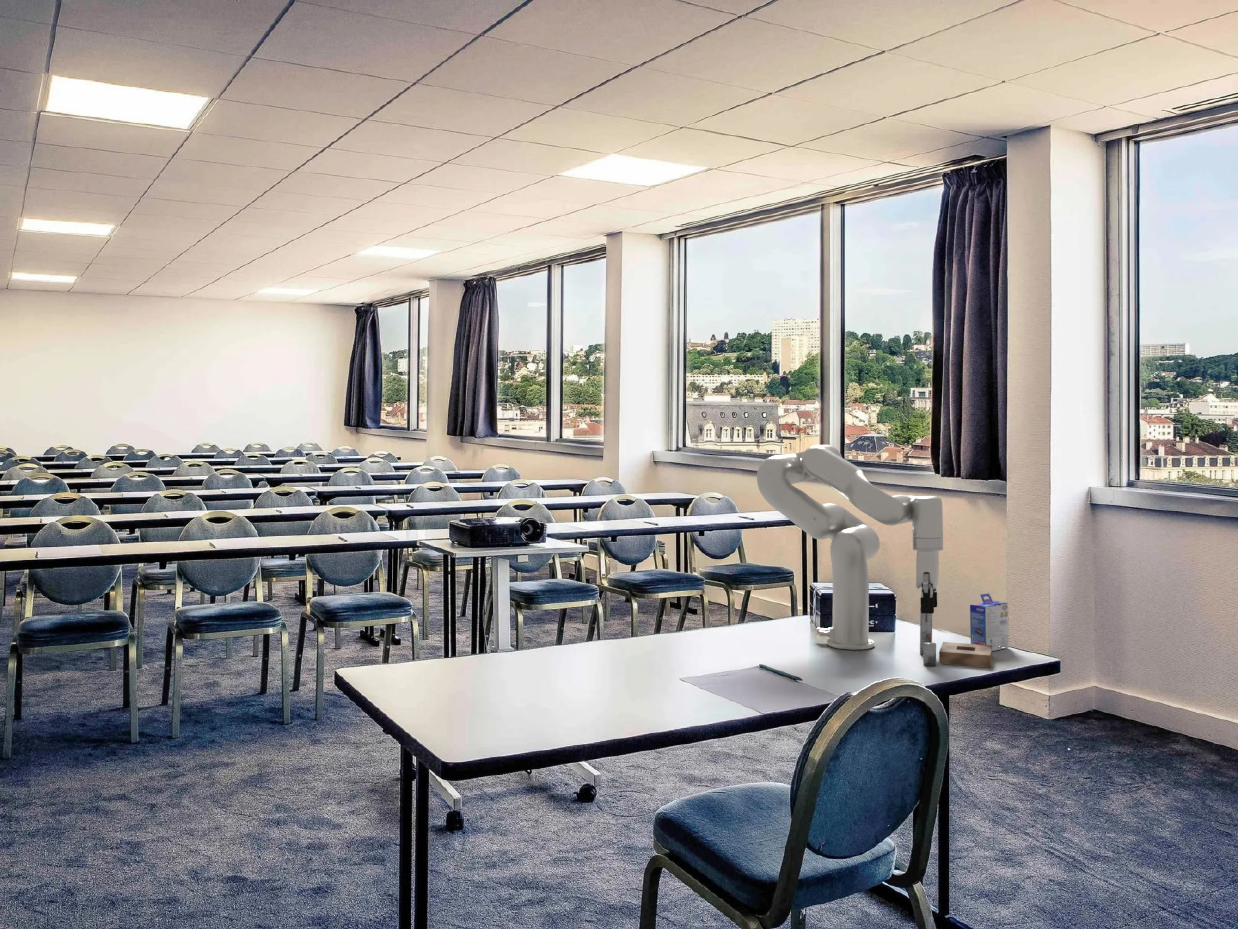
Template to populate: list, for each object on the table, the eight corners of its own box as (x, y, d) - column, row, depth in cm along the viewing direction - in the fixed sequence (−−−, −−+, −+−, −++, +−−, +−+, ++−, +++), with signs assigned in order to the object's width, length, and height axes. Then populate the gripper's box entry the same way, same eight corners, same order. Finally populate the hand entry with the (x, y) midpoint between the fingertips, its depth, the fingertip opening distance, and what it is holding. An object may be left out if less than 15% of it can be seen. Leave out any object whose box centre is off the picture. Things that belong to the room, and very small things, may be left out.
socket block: (939, 663, 258) (939, 651, 258) (942, 653, 270) (943, 641, 269) (990, 667, 254) (990, 655, 254) (991, 657, 265) (991, 645, 265)
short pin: (922, 666, 256) (922, 644, 255) (923, 663, 258) (924, 641, 258) (935, 667, 254) (935, 645, 254) (936, 664, 257) (936, 642, 257)
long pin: (919, 655, 267) (919, 609, 267) (920, 652, 270) (920, 607, 270) (931, 656, 266) (931, 610, 266) (932, 653, 269) (932, 608, 269)
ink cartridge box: (991, 644, 280) (992, 591, 279) (1009, 648, 275) (1010, 594, 275) (968, 649, 274) (969, 595, 274) (986, 653, 270) (987, 598, 269)
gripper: (916, 540, 276) (917, 604, 277) (909, 547, 260) (910, 615, 261) (945, 540, 274) (946, 605, 274) (940, 548, 258) (941, 616, 258)
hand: (929, 610), depth 267 cm, fingers open, 9 cm apart
